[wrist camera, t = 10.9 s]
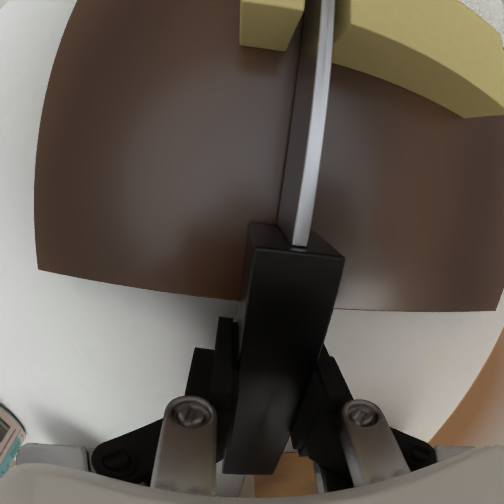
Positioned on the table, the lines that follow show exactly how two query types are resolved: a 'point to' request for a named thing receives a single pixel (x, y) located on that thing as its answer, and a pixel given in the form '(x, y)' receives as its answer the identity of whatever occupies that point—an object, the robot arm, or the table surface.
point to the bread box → (283, 479)
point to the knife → (287, 275)
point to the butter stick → (424, 51)
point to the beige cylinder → (9, 439)
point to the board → (253, 165)
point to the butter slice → (269, 22)
